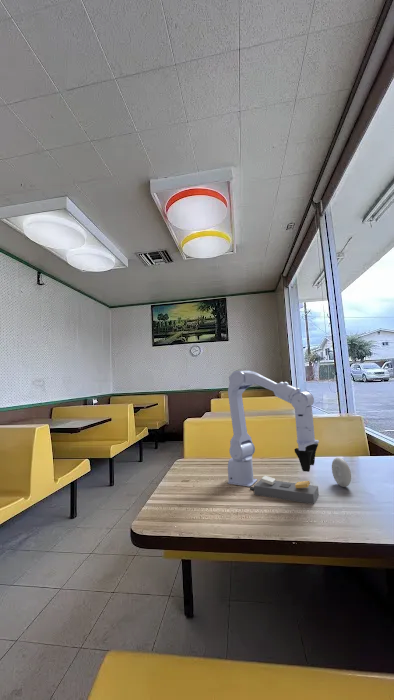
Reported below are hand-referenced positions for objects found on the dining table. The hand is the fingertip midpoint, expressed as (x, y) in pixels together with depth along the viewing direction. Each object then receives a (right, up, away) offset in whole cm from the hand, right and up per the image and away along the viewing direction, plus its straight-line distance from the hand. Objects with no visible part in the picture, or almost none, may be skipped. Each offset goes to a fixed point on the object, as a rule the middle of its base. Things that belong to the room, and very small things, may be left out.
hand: (308, 467), depth 102 cm
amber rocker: (-2, -6, -1) cm, 6 cm away
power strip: (-8, -10, +3) cm, 13 cm away
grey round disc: (+15, -10, +7) cm, 19 cm away
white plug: (-12, -7, +6) cm, 15 cm away
